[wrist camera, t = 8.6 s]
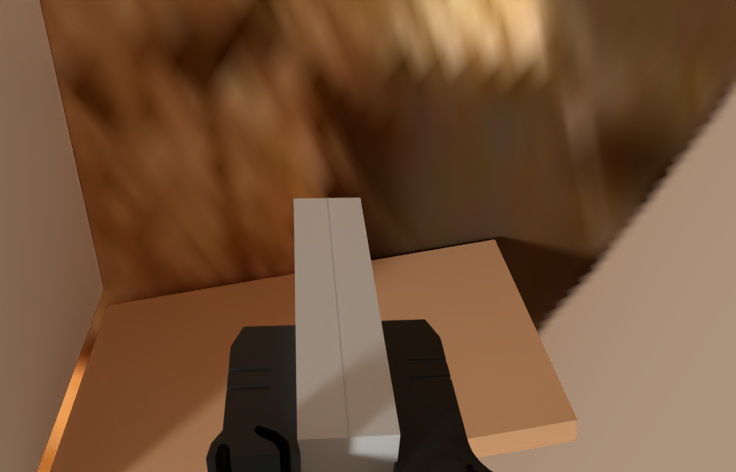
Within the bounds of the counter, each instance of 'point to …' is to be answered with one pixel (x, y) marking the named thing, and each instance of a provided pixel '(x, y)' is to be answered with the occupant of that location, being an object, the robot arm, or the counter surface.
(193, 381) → the side door
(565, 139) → the counter surface
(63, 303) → the block
